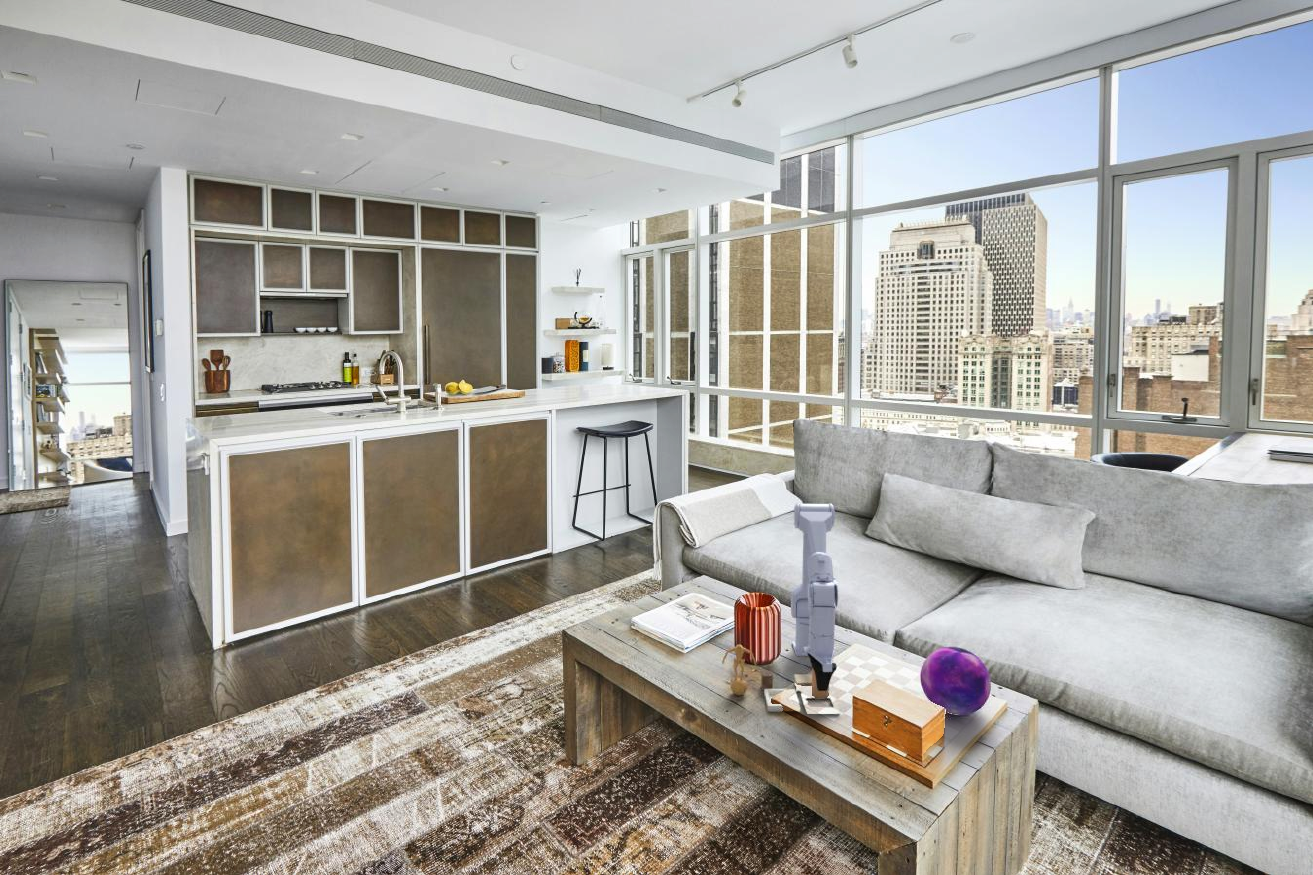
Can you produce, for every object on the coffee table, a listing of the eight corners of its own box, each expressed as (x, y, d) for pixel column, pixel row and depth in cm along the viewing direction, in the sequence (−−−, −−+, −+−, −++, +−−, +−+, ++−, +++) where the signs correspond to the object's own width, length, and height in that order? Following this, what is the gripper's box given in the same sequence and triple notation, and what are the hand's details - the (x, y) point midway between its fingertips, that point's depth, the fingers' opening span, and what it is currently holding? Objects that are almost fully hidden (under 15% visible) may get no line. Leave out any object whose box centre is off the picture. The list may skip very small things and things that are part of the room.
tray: (795, 694, 172) (795, 688, 171) (800, 711, 164) (800, 705, 164) (764, 694, 172) (764, 688, 172) (768, 711, 164) (768, 705, 164)
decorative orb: (959, 736, 154) (963, 673, 151) (905, 704, 167) (908, 645, 164) (1003, 716, 161) (1007, 655, 158) (947, 686, 174) (951, 630, 171)
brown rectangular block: (771, 685, 176) (771, 670, 175) (772, 690, 173) (772, 675, 173) (761, 685, 176) (761, 670, 175) (762, 690, 173) (762, 675, 173)
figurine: (721, 697, 171) (721, 651, 169) (722, 684, 177) (722, 640, 174) (756, 699, 170) (756, 653, 167) (756, 686, 175) (756, 641, 173)
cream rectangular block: (822, 683, 176) (822, 674, 176) (825, 692, 172) (825, 682, 172) (794, 683, 176) (794, 674, 176) (796, 692, 172) (796, 682, 172)
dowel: (826, 689, 168) (827, 662, 167) (830, 698, 164) (831, 671, 163) (810, 689, 168) (810, 662, 167) (813, 698, 164) (813, 671, 163)
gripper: (799, 617, 170) (798, 669, 173) (810, 645, 156) (809, 701, 159) (828, 617, 170) (826, 669, 173) (842, 645, 156) (840, 701, 158)
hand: (820, 684), depth 166 cm, fingers closed on dowel, 4 cm apart
